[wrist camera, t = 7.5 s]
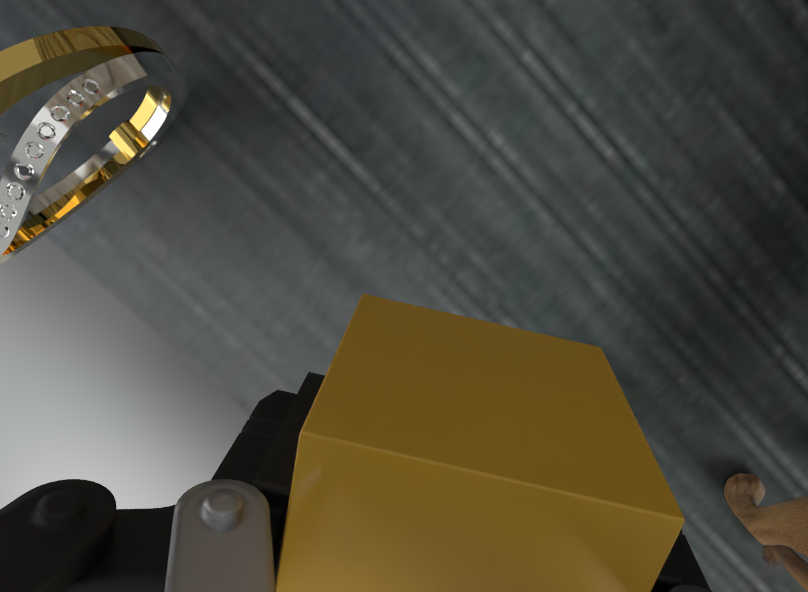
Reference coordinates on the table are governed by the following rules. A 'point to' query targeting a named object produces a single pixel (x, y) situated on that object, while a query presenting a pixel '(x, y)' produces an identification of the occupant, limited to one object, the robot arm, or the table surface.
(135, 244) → the table surface
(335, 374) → the block
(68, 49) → the ring
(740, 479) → the lion figurine
